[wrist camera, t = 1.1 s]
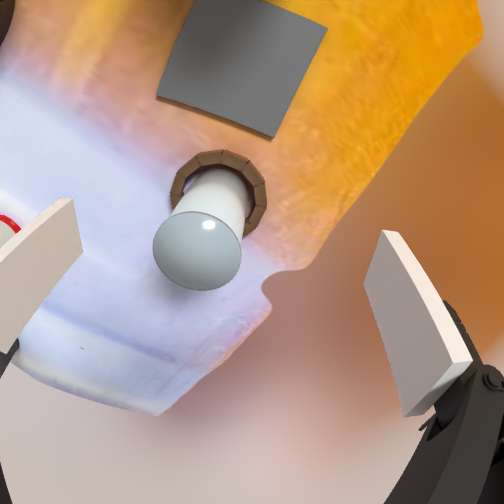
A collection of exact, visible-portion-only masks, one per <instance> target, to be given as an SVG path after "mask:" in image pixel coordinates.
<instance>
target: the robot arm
mask: <svg viewBox="0 0 504 504" xmlns="http://www.w3.org/2000/svg"><path fill="white" fill-rule="evenodd" d="M14 3H15V0H0V44H1V43H2V41H3V39H4V37H5V34H6V32H7V30H8V27H9V24H10V22H11V18H12V14H13V10H14ZM82 253H83V248H82V244H81V239H80V235H79V230H78V225H77V220H76V214H75V209H74V203H73V199H66V198H60V199H59V200H57V201H56V202H55V203H54V204H52V205H51V206H50V207H48V208H47V209H46V210H44V211H43V212H42V213H41V214H39V215H38V216H37V217H36V218H35V219H33V220H32V221H31V222H30V223H28V224H27V225H26V226H25V227H24V228H23V229H21V230H20V231H19V232H18V233H17V234H16V235H14V236H13V237H12V238H11V239H10V240H9V241H8V242H7V243H6V244H4V245H3V246H2V247H1V248H0V351H1V352H3V353H5V354H7V353H8V351H9V349H10V348H11V346H12V345H13V343H14V342H15V340H16V339H17V337H18V336H19V334H20V333H21V331H22V330H23V328H24V327H25V325H26V324H27V323H28V321H29V320H30V318H31V317H32V316H33V314H34V313H35V311H36V310H37V309H38V307H39V306H40V305H41V303H42V302H43V301H44V299H45V298H46V297H47V295H48V294H49V293H50V291H51V290H52V289H53V288H54V286H55V285H56V284H57V283H58V281H59V280H60V279H61V278H62V276H63V275H64V274H65V273H66V271H67V270H68V269H69V268H70V267H71V265H72V264H73V263H74V262H75V261H76V259H77V258H78V257H79V256H80V255H81V254H82ZM363 284H364V287H365V290H366V292H367V295H368V298H369V301H370V304H371V307H372V310H373V313H374V316H375V318H376V321H377V324H378V327H379V331H380V334H381V337H382V340H383V343H384V346H385V350H386V353H387V356H388V359H389V363H390V366H391V369H392V373H393V377H394V380H395V384H396V387H397V392H398V395H399V399H400V403H401V407H402V411H403V415H404V417H409V416H417V415H423V414H424V413H425V412H426V411H427V410H429V409H430V407H431V406H433V405H434V407H435V411H436V413H435V414H434V415H433V416H432V417H431V418H430V419H428V420H427V421H426V422H425V423H424V424H423V425H422V426H421V427H420V428H419V430H420V431H422V430H423V429H424V428H425V427H426V426H427V428H426V430H425V432H424V434H423V436H422V438H421V441H420V442H419V444H418V446H417V449H416V450H415V452H414V454H413V456H412V458H411V460H410V462H409V463H408V465H407V467H406V469H405V470H404V472H403V474H402V476H401V477H400V479H399V481H398V482H397V484H396V485H395V487H394V489H393V490H392V492H391V493H390V495H389V496H388V498H387V499H386V501H385V502H384V504H504V377H503V375H502V374H501V372H500V371H498V370H497V369H496V368H495V367H493V366H491V365H483V363H482V361H481V359H480V357H479V355H478V352H477V350H476V349H475V347H474V344H473V343H472V340H471V339H470V337H469V335H468V333H466V329H465V327H464V325H463V324H461V320H460V318H459V317H458V315H457V313H456V311H455V310H454V309H453V308H452V307H451V306H450V305H449V304H448V303H447V302H446V301H442V300H441V298H440V297H439V295H438V293H437V291H436V290H435V288H434V286H433V285H432V283H431V281H430V280H429V278H428V277H427V275H426V273H425V272H424V270H423V269H422V267H421V265H420V264H419V262H418V261H417V259H416V258H415V256H414V255H413V253H412V252H411V251H410V249H409V248H408V246H407V244H406V243H405V241H404V240H403V239H402V237H401V236H400V234H399V233H398V232H393V231H387V230H382V232H381V235H380V238H379V241H378V244H377V247H376V250H375V253H374V256H373V259H372V261H371V264H370V267H369V270H368V272H367V275H366V278H365V281H364V283H363ZM0 504H12V501H11V498H10V495H9V492H8V489H7V486H6V482H5V478H4V475H3V471H2V467H1V463H0Z"/></svg>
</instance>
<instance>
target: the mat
mask: <svg viewBox="0 0 504 504" xmlns="http://www.w3.org/2000/svg"><path fill="white" fill-rule="evenodd" d="M327 30H328V28H327V27H324V26H322V25H320V24H318V23H316V22H314V21H312V20H309V19H307V18H305V17H302V16H300V15H298V14H295V13H293V12H290V11H288V10H285V9H283V8H280V7H277V6H275V5H272V4H269V3H266V2H263V1H260V0H195V2H194V4H193V6H192V8H191V10H190V12H189V14H188V16H187V18H186V20H185V23H184V25H183V27H182V29H181V31H180V34H179V36H178V38H177V40H176V43H175V45H174V48H173V50H172V52H171V55H170V57H169V60H168V62H167V65H166V68H165V70H164V73H163V75H162V78H161V81H160V84H159V86H158V89H157V92H156V95H158V96H162V97H165V98H168V99H172V100H175V101H178V102H181V103H184V104H187V105H190V106H193V107H196V108H199V109H202V110H205V111H207V112H210V113H213V114H216V115H218V116H221V117H224V118H227V119H229V120H232V121H234V122H237V123H240V124H242V125H245V126H247V127H250V128H252V129H254V130H257V131H259V132H262V133H264V134H266V135H269V136H271V137H273V138H274V137H275V135H276V133H277V131H278V128H279V126H280V124H281V122H282V120H283V118H284V116H285V114H286V112H287V110H288V108H289V106H290V104H291V101H292V99H293V97H294V95H295V93H296V91H297V89H298V87H299V85H300V83H301V81H302V79H303V77H304V75H305V73H306V71H307V69H308V67H309V65H310V63H311V61H312V59H313V57H314V55H315V53H316V51H317V49H318V47H319V45H320V43H321V41H322V39H323V37H324V35H325V34H326V32H327Z"/></svg>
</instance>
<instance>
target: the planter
mask: <svg viewBox="0 0 504 504" xmlns="http://www.w3.org/2000/svg"><path fill="white" fill-rule="evenodd" d="M18 347H19V341H18V339H16V340H15V342H14V343H13V345H12V346H11V348H10V349H9V351H8V353H7V354H5V353H3V352H1V351H0V378H1V376H2V374H3V373H4V371H5V369H6V367H7V365H8V364H9V362H10V360H11V358H12V357H13V355H14V353H15V352H16V350H17V349H18Z"/></svg>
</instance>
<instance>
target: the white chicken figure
mask: <svg viewBox="0 0 504 504" xmlns="http://www.w3.org/2000/svg"><path fill="white" fill-rule="evenodd" d="M20 230H21V228H20V227H19V226H18V225H17V224H16V223H15V222H14V221H13V220H12V219H10V218H8V217H6V216H4V215H0V248H1V247H2V246H3V245H4V244H6V243H7V242H8V241H9V240H10V239H11V238H12V237H13V236H14V235H16V234H17V233H18V232H19V231H20Z"/></svg>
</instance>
